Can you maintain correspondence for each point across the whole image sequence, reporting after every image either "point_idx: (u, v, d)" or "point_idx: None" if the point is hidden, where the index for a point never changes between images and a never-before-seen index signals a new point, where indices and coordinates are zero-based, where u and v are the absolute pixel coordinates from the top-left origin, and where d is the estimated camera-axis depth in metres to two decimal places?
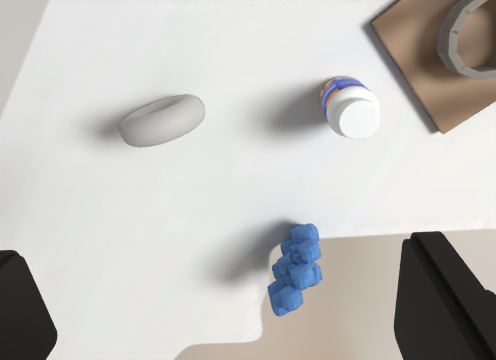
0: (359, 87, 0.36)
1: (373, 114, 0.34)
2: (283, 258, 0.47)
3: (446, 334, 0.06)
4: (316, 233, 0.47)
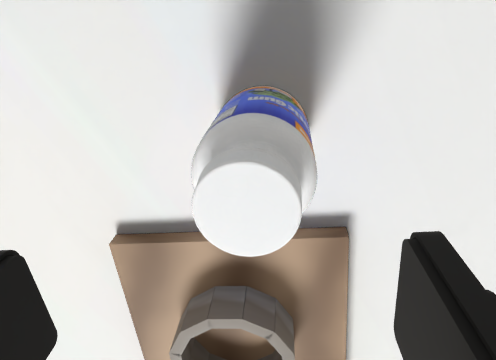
0: None
1: (241, 244, 0.13)
2: None
3: (446, 334, 0.06)
4: None
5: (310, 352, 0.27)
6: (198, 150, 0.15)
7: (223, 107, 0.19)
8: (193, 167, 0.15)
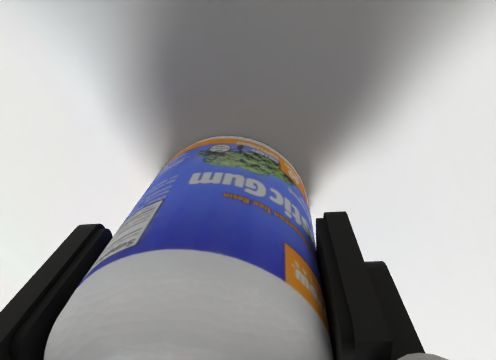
0: None
1: None
2: None
3: (328, 293, 0.07)
4: None
5: None
6: (49, 340, 0.06)
7: (153, 181, 0.10)
8: None
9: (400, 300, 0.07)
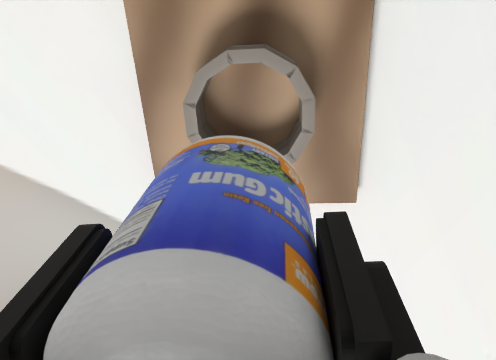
0: None
1: None
2: None
3: (328, 293, 0.07)
4: None
5: (325, 136, 0.26)
6: (48, 339, 0.06)
7: (153, 180, 0.10)
8: None
9: (400, 300, 0.07)
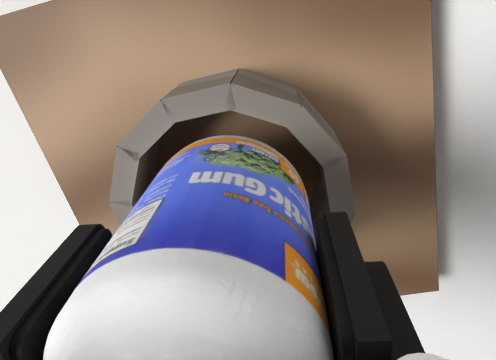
0: None
1: None
2: None
3: (328, 293, 0.07)
4: None
5: None
6: (48, 339, 0.06)
7: (153, 180, 0.10)
8: None
9: (400, 300, 0.07)
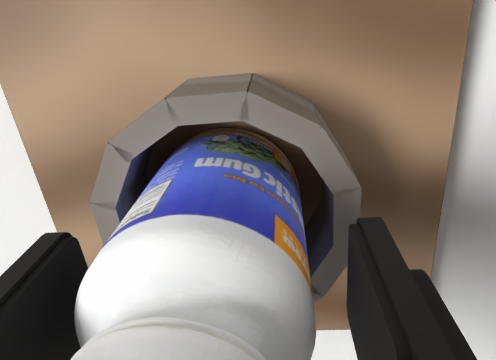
0: None
1: None
2: None
3: (371, 304, 0.07)
4: None
5: None
6: (81, 287, 0.07)
7: None
8: (75, 317, 0.08)
9: (447, 312, 0.07)
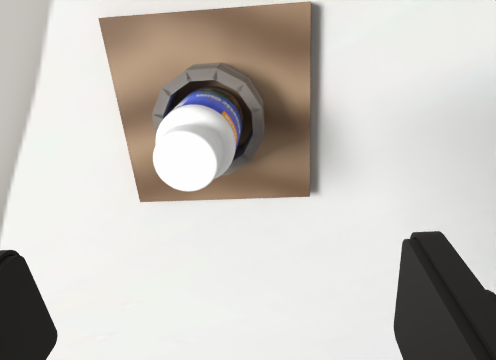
0: (224, 171, 0.25)
1: (183, 183, 0.22)
2: None
3: (446, 334, 0.06)
4: None
5: None
6: (159, 126, 0.23)
7: None
8: (156, 137, 0.23)
9: None
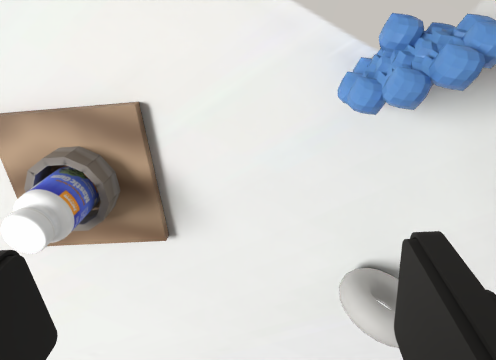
0: (67, 234, 0.34)
1: (25, 248, 0.31)
2: None
3: (446, 334, 0.06)
4: (342, 90, 0.30)
5: None
6: (14, 205, 0.32)
7: None
8: None
9: None
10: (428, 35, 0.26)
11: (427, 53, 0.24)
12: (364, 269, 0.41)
